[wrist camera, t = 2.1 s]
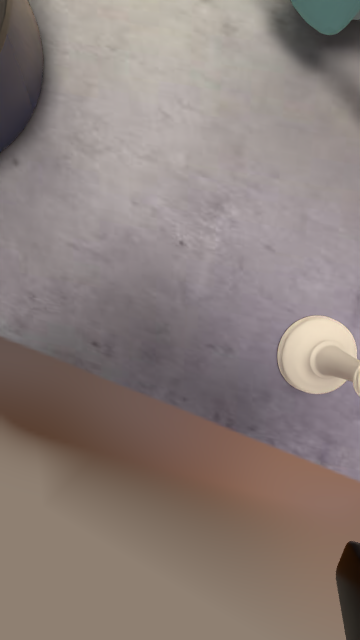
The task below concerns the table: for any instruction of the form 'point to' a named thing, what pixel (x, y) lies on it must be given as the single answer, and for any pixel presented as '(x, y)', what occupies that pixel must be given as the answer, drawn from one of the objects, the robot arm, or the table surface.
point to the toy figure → (328, 13)
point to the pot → (18, 68)
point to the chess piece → (318, 355)
